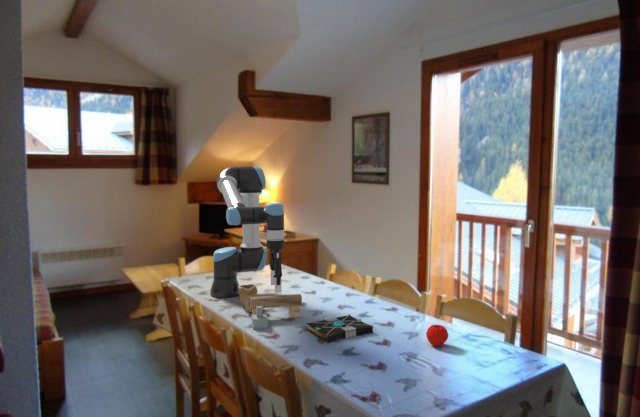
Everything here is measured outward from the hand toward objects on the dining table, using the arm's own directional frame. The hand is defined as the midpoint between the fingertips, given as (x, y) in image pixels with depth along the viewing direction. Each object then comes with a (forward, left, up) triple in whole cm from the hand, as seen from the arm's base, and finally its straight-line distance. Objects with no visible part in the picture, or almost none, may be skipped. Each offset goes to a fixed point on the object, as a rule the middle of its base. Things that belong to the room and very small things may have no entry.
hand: (275, 288), depth 205 cm
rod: (0, 0, -8) cm, 8 cm away
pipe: (-15, -10, -13) cm, 22 cm away
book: (+23, +22, -13) cm, 34 cm away
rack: (0, 0, -13) cm, 13 cm away
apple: (+45, +53, -13) cm, 70 cm away
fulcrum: (+10, -8, -13) cm, 18 cm away
